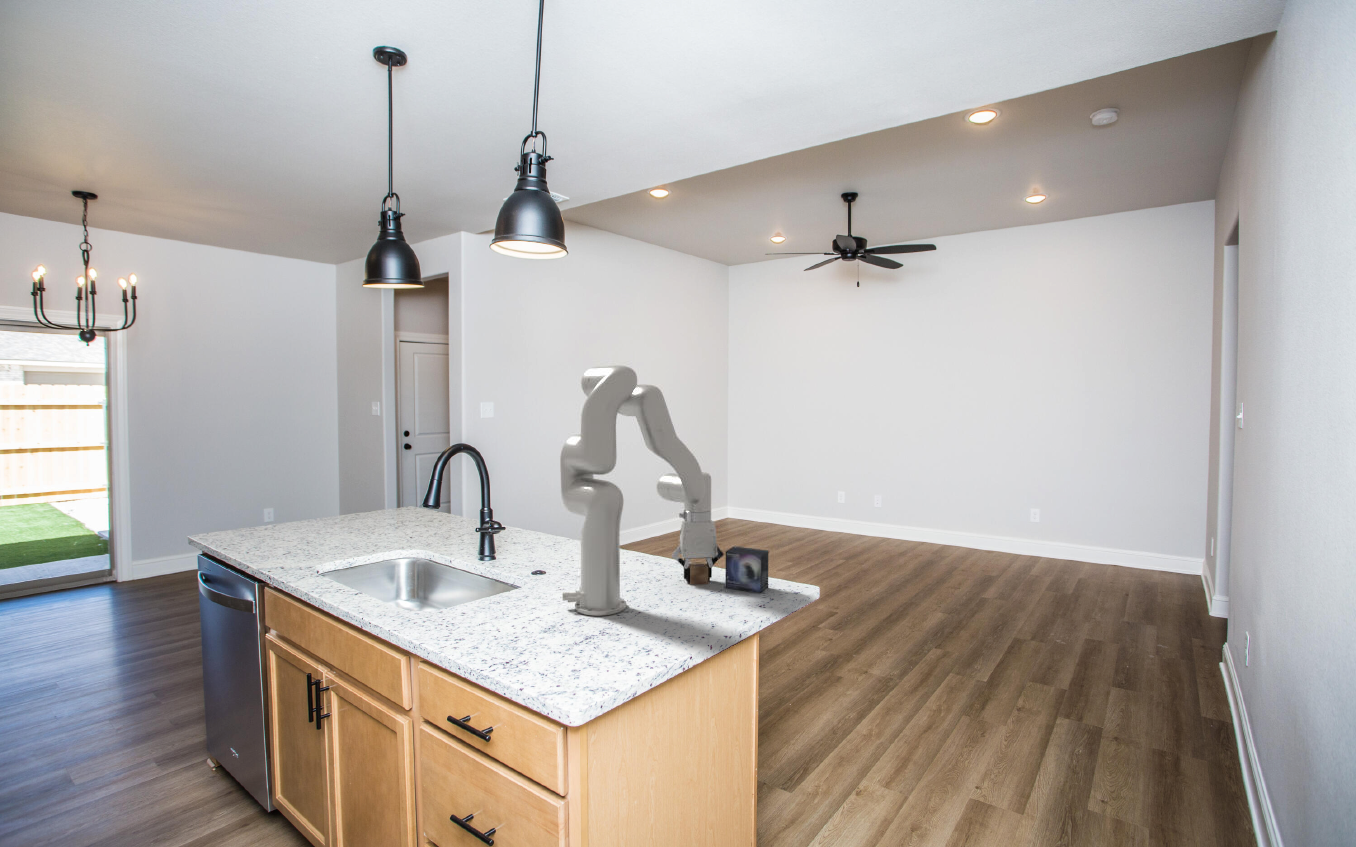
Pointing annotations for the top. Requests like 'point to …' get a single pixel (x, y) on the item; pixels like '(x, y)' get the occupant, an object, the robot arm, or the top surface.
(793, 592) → the top surface
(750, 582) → the small box
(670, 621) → the top surface
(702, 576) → the walnut cube
